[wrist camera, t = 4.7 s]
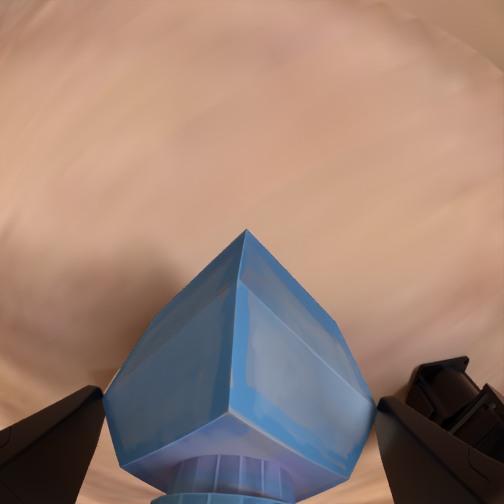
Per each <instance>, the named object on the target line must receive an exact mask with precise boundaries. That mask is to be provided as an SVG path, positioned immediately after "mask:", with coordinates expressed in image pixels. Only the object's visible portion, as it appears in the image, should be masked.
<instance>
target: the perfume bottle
mask: <svg viewBox="0 0 504 504" xmlns="http://www.w3.org/2000/svg"><path fill="white" fill-rule="evenodd" d="M102 401H103V406H104V411H105V415H106V419H107V423H108V427H109V431H110V435H111V438H112V442H113V446H114V449H115V452H116V456H117V459H118V462H119V465H120V468H122V469H124V470H125V471H127V472H128V473H130V474H132V475H133V476H135V477H137V478H139V479H140V480H142V481H144V482H146V483H147V484H149V485H151V486H153V487H155V488H157V489H158V490H160V491H162V492H164V493H166V495H164V496H160V497H158V498H156V499H154V500H152V501H151V503H150V504H296V503H297V502H300V501H302V500H305V499H307V498H310V497H312V496H314V495H317V494H319V493H321V492H324V491H326V490H328V489H330V488H333V487H335V486H337V485H339V484H341V483H343V482H345V481H347V480H349V478H350V476H351V474H352V472H353V470H354V467H355V465H356V463H357V461H358V459H359V457H360V454H361V452H362V450H363V448H364V445H365V443H366V441H367V438H368V436H369V433H370V431H371V428H372V426H373V423H374V421H375V418H376V415H377V413H378V409H377V407H376V405H375V402H374V400H373V398H372V396H371V394H370V392H369V389H368V387H367V385H366V383H365V381H364V379H363V377H362V375H361V372H360V370H359V368H358V366H357V364H356V362H355V360H354V358H353V356H352V354H351V352H350V350H349V348H348V346H347V344H346V342H345V340H344V338H343V336H342V334H341V332H340V330H339V328H338V326H337V324H336V322H335V321H334V320H333V319H332V318H331V317H330V316H329V315H328V313H327V312H326V311H325V310H324V309H323V308H322V307H321V306H320V305H319V304H318V303H317V302H316V301H315V300H314V299H313V298H312V297H311V295H310V294H309V293H308V292H307V291H306V290H305V289H304V288H303V287H302V286H301V285H300V284H299V283H298V282H297V281H296V280H295V279H294V278H293V277H292V276H291V274H290V273H289V272H288V271H287V270H286V269H285V268H284V267H283V266H282V265H281V264H280V263H279V262H278V261H277V260H276V259H275V258H274V257H273V256H272V255H271V254H270V253H269V251H268V250H267V249H266V248H265V247H264V246H263V245H262V244H261V243H260V242H259V241H258V240H257V239H256V238H255V237H254V236H253V235H252V234H251V233H250V232H249V231H248V230H247V229H246V230H245V231H244V232H243V233H241V234H240V235H239V236H238V237H237V238H236V239H235V240H234V241H233V242H232V243H231V244H230V245H229V246H228V247H227V248H226V249H224V250H223V251H222V252H221V253H220V254H219V255H218V256H217V257H216V258H215V259H214V260H213V261H212V262H211V263H210V264H209V265H208V266H207V267H206V268H204V269H203V270H202V271H201V272H200V273H199V274H198V275H197V276H196V277H195V278H194V279H193V280H192V281H191V282H190V283H189V284H188V285H187V286H186V287H185V288H184V289H183V290H182V291H180V292H179V293H178V294H177V295H176V296H175V297H174V298H173V299H172V300H171V301H170V302H169V303H168V304H167V305H166V306H165V307H164V308H163V309H162V310H161V311H160V312H159V313H158V314H157V315H156V316H155V317H154V319H153V320H152V321H151V323H150V324H149V326H148V327H147V329H146V330H145V332H144V333H143V335H142V336H141V338H140V340H139V341H138V343H137V344H136V346H135V347H134V349H133V350H132V352H131V353H130V355H129V356H128V358H127V359H126V361H125V363H124V364H123V366H122V367H121V369H120V370H119V372H118V373H117V375H116V377H115V378H114V380H113V381H112V383H111V385H110V386H109V388H108V389H107V391H106V393H105V394H104V396H103V398H102Z"/></svg>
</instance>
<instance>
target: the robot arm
mask: <svg viewBox="0 0 504 504" xmlns="http://www.w3.org/2000/svg"><path fill="white" fill-rule="evenodd" d="M468 363H469V358H468V357H467V356H464V357H459V358H455V359H450V360H445V361H439V362H434V363H428V364H424V365H422V366H421V367H420V368H419V370H418V373H417V375H416V378H415V381H414V383H413V386H412V389H411V391H410V394H409V396H408V398H407V401H406V403H403V402H402V401H400V400H399V399H397V398H396V397H394V396H387V397H382V398H381V399H380V401H379V403H378V406H377V409H378V413H377V415H376V418H375V421H374V424H375V429H376V434H377V440H378V445H379V451H380V456H381V460H382V463H383V467H384V470H385V473H386V477H387V480H388V483H389V487H390V490H391V493H392V497H393V500H394V504H504V397H503V396H502V395H501V394H500V393H499V392H498V391H497V390H495V389H494V388H493V387H491V386H490V385H489V384H487V383H486V384H485V385H484V386H483V389H482V390H480V389H479V387H478V386H477V385H476V384H475V383H474V382H473V381H472V379H471V378H470V377H469V376H468V375H467V374H466V373H465V370H466V368H467V365H468ZM102 398H103V393H102V390H101V389H100V387H97V386H93V385H88V386H86V387H84V388H82V389H80V390H78V391H76V392H75V393H73V394H71V395H69V396H67V397H65V398H63V399H62V400H60V401H58V402H56V403H54V404H52V405H50V406H48V407H46V408H44V409H43V410H41V411H39V412H37V413H35V414H33V415H31V416H29V417H27V418H25V419H23V420H21V421H19V422H17V423H15V424H13V425H12V426H9V427H7V428H5V429H3V430H1V431H0V504H75V502H76V499H77V497H78V494H79V491H80V488H81V486H82V483H83V480H84V478H85V475H86V472H87V470H88V467H89V465H90V462H91V460H92V457H93V454H94V452H95V449H96V447H97V444H98V440H99V436H100V433H101V429H102V426H103V422H104V419H105V411H104V406H103V401H102Z"/></svg>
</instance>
